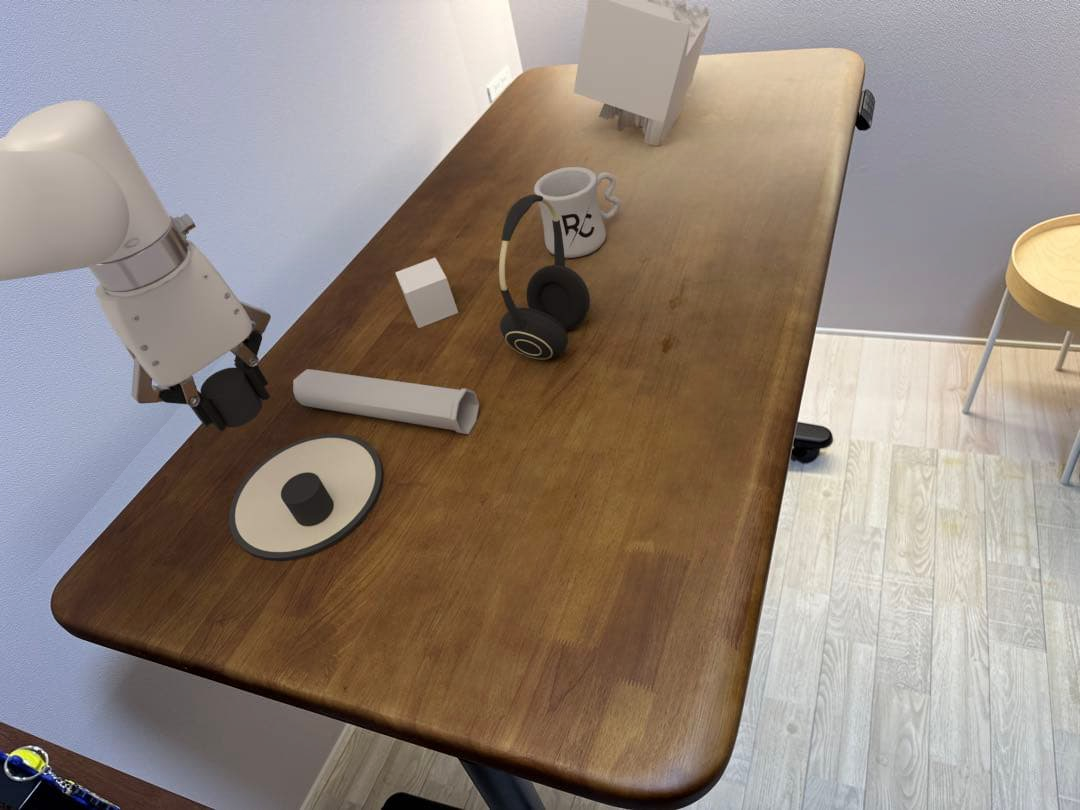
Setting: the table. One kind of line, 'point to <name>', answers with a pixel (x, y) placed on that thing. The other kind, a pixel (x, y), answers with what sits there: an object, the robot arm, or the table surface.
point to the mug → (575, 208)
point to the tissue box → (640, 61)
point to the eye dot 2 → (307, 499)
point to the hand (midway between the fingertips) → (238, 407)
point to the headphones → (542, 295)
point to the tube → (388, 399)
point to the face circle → (343, 473)
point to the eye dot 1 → (232, 396)
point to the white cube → (427, 292)
